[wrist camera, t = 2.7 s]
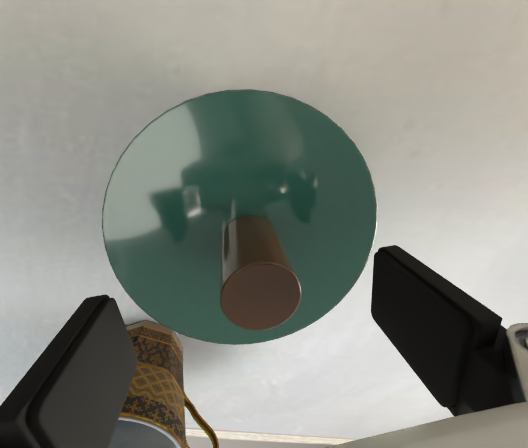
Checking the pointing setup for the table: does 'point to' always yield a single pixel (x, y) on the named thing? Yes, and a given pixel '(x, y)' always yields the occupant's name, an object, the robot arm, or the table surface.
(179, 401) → the ceramic cup
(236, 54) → the table surface
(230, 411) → the table surface
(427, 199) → the table surface
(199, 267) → the lid
